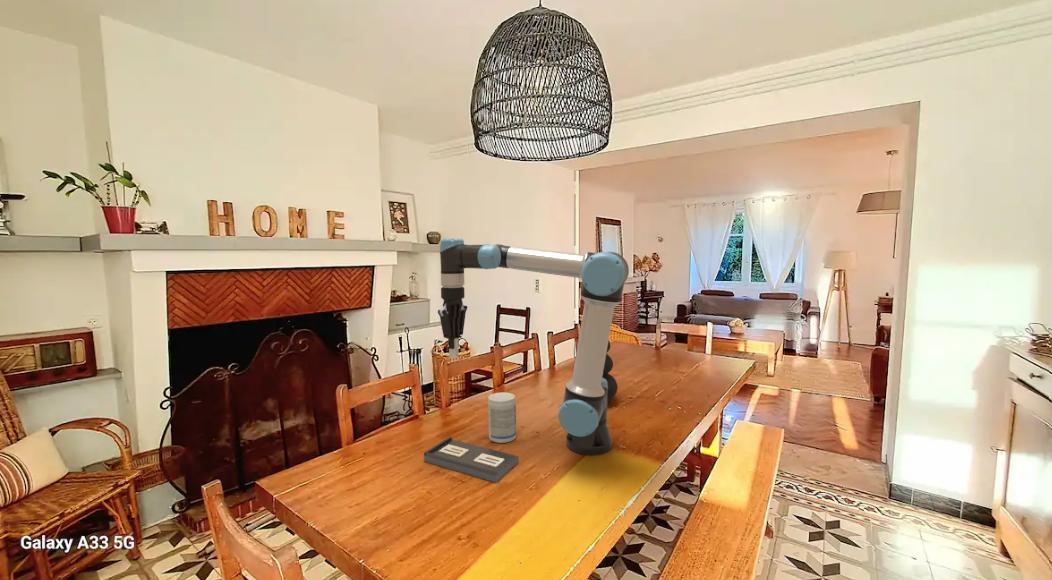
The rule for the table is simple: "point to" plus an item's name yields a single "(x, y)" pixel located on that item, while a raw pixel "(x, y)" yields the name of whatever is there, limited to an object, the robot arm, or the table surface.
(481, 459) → the label
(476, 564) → the table surface
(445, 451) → the label
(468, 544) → the table surface
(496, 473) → the label board
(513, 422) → the supplement tub
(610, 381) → the vase
